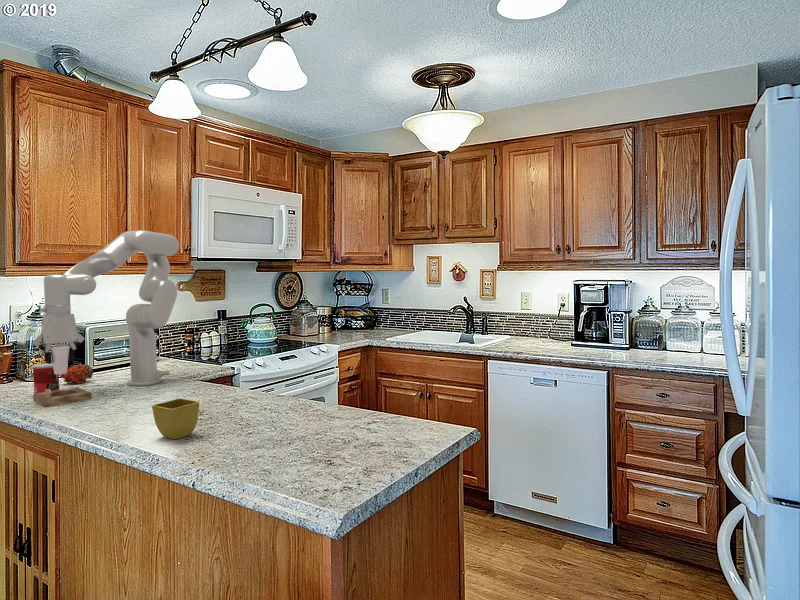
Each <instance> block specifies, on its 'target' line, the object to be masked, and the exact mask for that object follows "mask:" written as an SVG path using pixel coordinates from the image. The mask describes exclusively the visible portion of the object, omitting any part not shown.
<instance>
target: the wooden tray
mask: <svg viewBox="0 0 800 600" xmlns="http://www.w3.org/2000/svg"><path fill="white" fill-rule="evenodd" d="M90 399H91V400H92V393H91V392H90V391H88V390H86V389H83V388H81V387H79V386H76V387H70V388H64V389H63V388H62V389H59V390H55V391H51V389H46V390H45V392H42V393H35V394H34V393H33V402H35V403H37V404H38V405H40V406H41V407H43V408H49V407H50V406H51V407H56V406H55V405H57V406H62V405H61V404H63V405H67V404H66V403H69V404H73V403H72V402H75V403H79V402H78V401H81V402H85V401H84V400H87V401H91V400H90Z"/></svg>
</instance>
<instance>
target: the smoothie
mask: <svg viewBox="0 0 800 600" xmlns="http://www.w3.org/2000/svg"><path fill="white" fill-rule="evenodd" d="M69 349H70V345H68V344H63V343H60V344H52V345H51V347H50V352H51V363H52V364H53V369H54V374H59V375H62V374H66V373H67V368H69V366H68V364H69Z"/></svg>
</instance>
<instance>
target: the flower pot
mask: <svg viewBox="0 0 800 600" xmlns="http://www.w3.org/2000/svg"><path fill="white" fill-rule="evenodd" d="M151 408H152V409H151V410H152V414H153V419H154V424H155V426H156V428H157V430H158V431H159V433H160V434H161V435H162V436H163V437H164V436H165V437H164V438H167V437H168V438H167V439H171V438H172V439H171V440H177V438H178V439H181V438H184V437H186V436H190V435H192V433H193V432H194V430H195V428H196V425H197V423H198V419H199V411H200V401H197V400H193V399H192V400H191V399H186V398H176V399H172V400H167V401H164V402H159V403H156V404H152V405H151Z"/></svg>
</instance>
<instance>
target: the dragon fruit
mask: <svg viewBox="0 0 800 600" xmlns="http://www.w3.org/2000/svg"><path fill="white" fill-rule="evenodd" d="M93 374H94V369H93V368H92V367H91V366H90V365H87V364H82V363H81V362H80V363H78V364H77V365H76V364H72V365H71V366H70V367H69V366H68V367H67V373H66V374H60V375H59V379H63V382H64V383H66V384H67V383H74V384H77V383H79V384H81V383H82V382H84V383H86V382H87V379H92V378H93Z"/></svg>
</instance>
